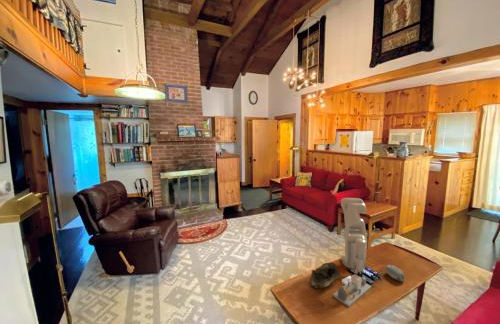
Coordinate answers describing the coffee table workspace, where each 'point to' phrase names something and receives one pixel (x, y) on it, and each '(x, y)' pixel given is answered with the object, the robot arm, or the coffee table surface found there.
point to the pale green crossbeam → (351, 287)
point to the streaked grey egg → (395, 273)
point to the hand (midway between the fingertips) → (359, 277)
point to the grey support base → (351, 293)
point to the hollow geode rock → (324, 275)
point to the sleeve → (356, 281)
